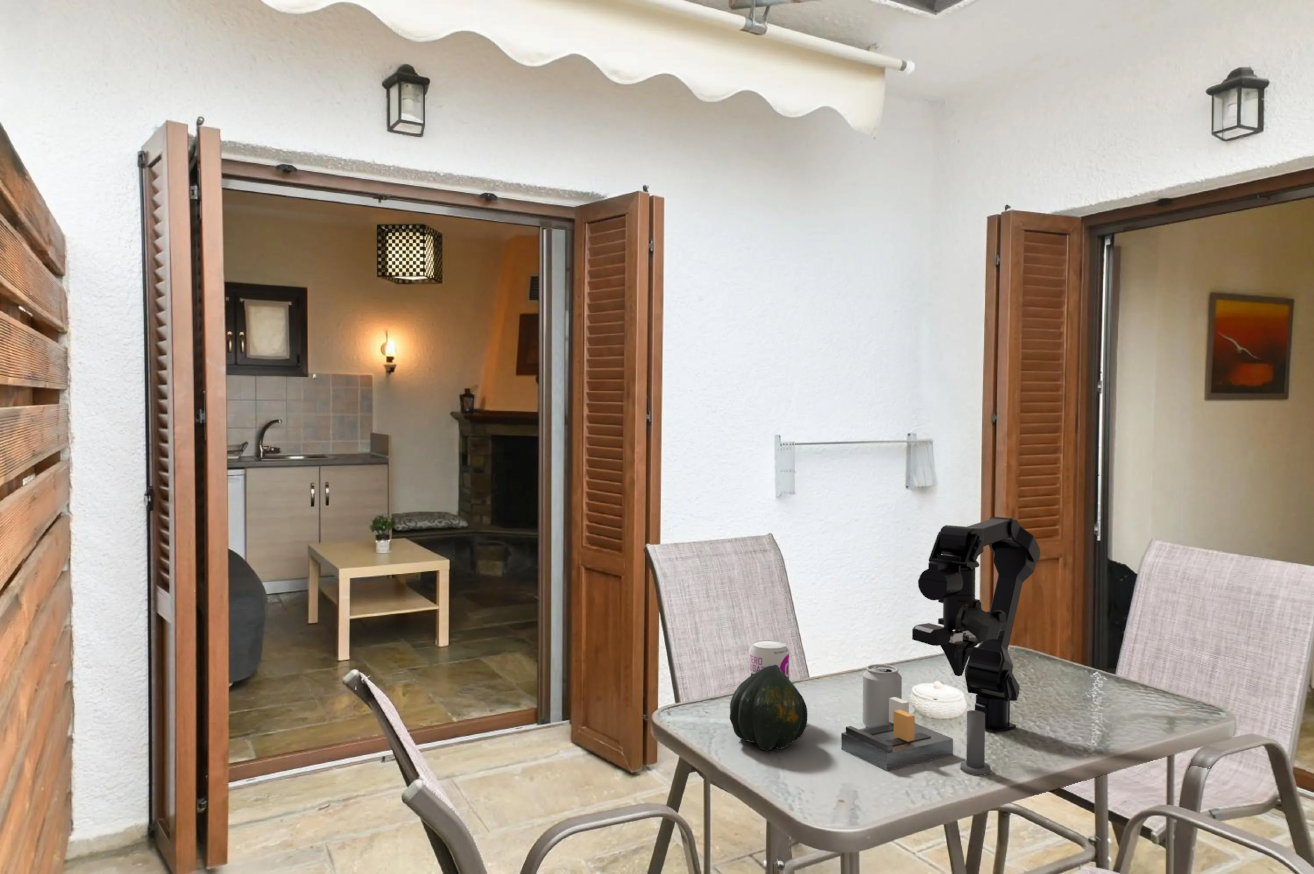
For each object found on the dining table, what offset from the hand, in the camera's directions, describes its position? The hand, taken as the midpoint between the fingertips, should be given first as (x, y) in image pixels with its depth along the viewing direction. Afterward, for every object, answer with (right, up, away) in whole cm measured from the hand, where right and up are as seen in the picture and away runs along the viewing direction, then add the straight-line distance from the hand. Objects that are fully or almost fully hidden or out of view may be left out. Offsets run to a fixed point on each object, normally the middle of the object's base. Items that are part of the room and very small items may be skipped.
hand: (958, 675), depth 171 cm
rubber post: (-1, -13, -12) cm, 18 cm away
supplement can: (-34, -13, +16) cm, 39 cm away
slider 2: (-12, -10, -6) cm, 17 cm away
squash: (-36, -13, +1) cm, 38 cm away
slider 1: (-11, -10, +1) cm, 14 cm away
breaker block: (-13, -13, -4) cm, 19 cm away
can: (-12, -13, +10) cm, 20 cm away
